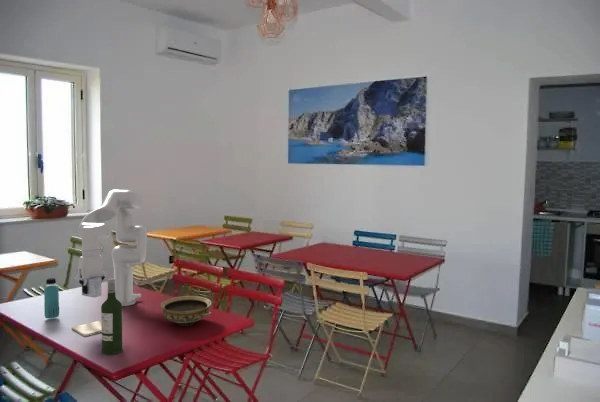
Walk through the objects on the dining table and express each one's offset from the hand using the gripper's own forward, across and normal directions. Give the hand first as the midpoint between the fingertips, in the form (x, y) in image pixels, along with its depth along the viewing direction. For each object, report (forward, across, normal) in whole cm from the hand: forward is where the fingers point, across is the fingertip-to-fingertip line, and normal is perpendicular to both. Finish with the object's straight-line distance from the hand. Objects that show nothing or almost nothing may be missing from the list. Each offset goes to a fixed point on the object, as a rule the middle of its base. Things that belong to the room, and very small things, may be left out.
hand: (91, 291), depth 220 cm
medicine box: (+2, 0, 0) cm, 2 cm away
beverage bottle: (+18, +7, -27) cm, 33 cm away
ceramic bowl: (+18, -35, +23) cm, 45 cm away
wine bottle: (+18, +6, +30) cm, 35 cm away
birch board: (+18, 0, 0) cm, 18 cm away
